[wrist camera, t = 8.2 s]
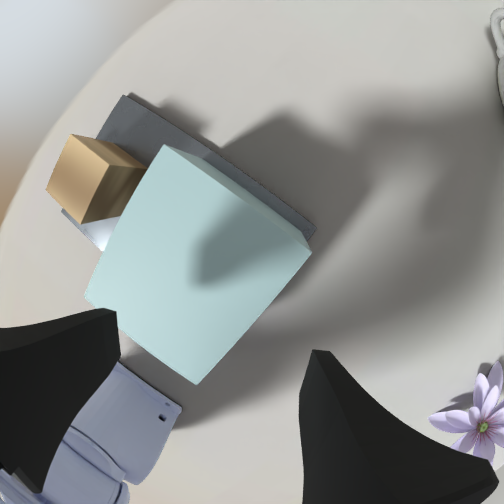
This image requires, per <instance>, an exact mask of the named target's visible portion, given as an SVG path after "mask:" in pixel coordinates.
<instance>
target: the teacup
mask: <svg viewBox="0 0 504 504" xmlns="http://www.w3.org/2000/svg"><path fill="white" fill-rule="evenodd" d="M502 19H504V8H498V9H496V10H494V11H493V13H492V14H491V18H490V26H491V31H492V34H493V37H494V40H495V42H496V45H497V50H496V53H497V56H498V58H499V59H500V61H499V64H498V85H499V92H500V96H501V100H502V103H503V106H504V38H503V35H502V31H501V26H500V22H501V20H502Z"/></svg>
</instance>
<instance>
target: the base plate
mask: <svg viewBox="0 0 504 504" xmlns="http://www.w3.org/2000/svg"><path fill="white" fill-rule="evenodd" d="M96 139H98V140H103V141H107V142H112V143H114V144H115V145H117V146H118V147H119V148H121V149H122V150H124V151H125V152H126V153H128V154H129V155H130V156H132V157H133V158H134V159H136V160H137V161H139V162H140V163H141V164H143V165H144V166H145V167H147V168H149V166H150V165H151V163H152V162H153V160H154V158H155V157H156V155H157V154H158V152H159V151H160V149H161V148H162V146H163V145H164V144H165V145H167V146H170V147H173V148H176V149H178V150H181V151H184V152H186V153H189V154H192V155H194V156H197V157H199V158H202V159H203V160H205V161H206V162H208V163H209V164H211V165H212V166H213V167H215V168H216V169H218V170H219V171H220V172H222V173H223V174H225V175H226V176H228V177H229V178H230V179H232V180H233V181H234V182H236V183H237V184H239V185H240V186H241V187H243V188H244V189H246V190H247V191H248V192H250V193H251V194H252V195H254V196H255V197H256V198H258V199H259V200H260V201H262V202H263V203H265V204H266V205H267V206H269V207H270V208H271V209H273V210H274V211H275V212H276V213H278V214H279V215H280V216H282V217H283V218H284V219H286V220H287V221H288V222H290V223H291V224H292V225H294V226H295V227H296V228H297V229H299V230H300V231H301V232H302V234H303V236H304V238H305V240H306V242H307V240H308V239H309V238H310V236H311V235H312V234H313V233H314V231H315V230H316V229H317V228H316V227H315V226H314V225H313V224H311V223H310V222H309V221H308V220H306V219H305V218H304V217H302V216H301V215H300V214H299V213H297V212H296V211H295V210H293V209H292V208H291V207H290V206H288V205H287V204H286V203H284V202H283V201H282V200H280V199H279V198H278V197H276V196H275V195H274V194H272V193H271V192H270V191H268V190H267V189H266V188H264V187H263V186H262V185H260V184H259V183H257V182H256V181H255V180H253V179H252V178H251V177H249V176H248V175H246V174H245V173H244V172H242V171H241V170H239V169H238V168H237V167H235V166H234V165H232V164H231V163H229V162H228V161H227V160H225V159H224V158H222V157H221V156H219V155H218V154H216V153H215V152H214V151H212V150H211V149H209V148H208V147H206V146H205V145H203V144H202V143H200V142H199V141H197V140H196V139H194V138H193V137H191V136H190V135H188V134H187V133H185V132H184V131H182V130H180V129H179V128H177V127H176V126H174V125H173V124H171V123H170V122H168V121H166V120H165V119H163V118H162V117H160V116H158V115H157V114H155V113H154V112H152V111H150V110H149V109H147V108H145V107H144V106H142V105H140V104H139V103H137V102H135V101H134V100H132V99H130V98H129V97H127V96H125V95H122V97H121V98H120V100H119V101H118V103H117V104H116V106H115V107H114V109H113V111H112V112H111V114H110V115H109V117H108V119H107V120H106V122H105V124H104V125H103V127H102V129H101V130H100V132H99V134H98V136H97V137H96ZM126 206H127V205H126ZM125 208H126V207H125ZM61 212H62V213H63V214H64V215H65V216H66V217H67V218H68V219H69V220H70V221H71V222H72V223H73V224H74V225H75V226H76V227H77V228H78V229H79V230H80V231H81V232H82V233H83V234H84V235H85V236H86V237H87V238H89V239H90V240H91V241H92V242H93V243H94V244H95V245H96V246H97V247H98V248H99V249H100V250H102V251H104V249H105V247H106V245H107V243H108V241H109V239H110V237H111V235H112V233H113V231H114V229H115V227H116V225H117V223H118V221H119V219H120V217H121V216H118V217H113V218H109V219H104V220H99V221H95V222H90V223H86V224H81V225H80V224H79V223H78V222H77V221H76V220H75V219H74V218H73V217H72V216H71V215H70V214H69V213H68V212H67V211H66V210H65V209H64V208H63V209H62V211H61Z"/></svg>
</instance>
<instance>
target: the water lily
mask: <svg viewBox="0 0 504 504" xmlns="http://www.w3.org/2000/svg"><path fill="white" fill-rule="evenodd" d="M502 385H503V369H502V366H501V364H500V362H499V361H497V362H496V363H495V364H494V365H493V367H492V369H491V370H490V373H489V375H488V378H487V379H486V377H485V376H484V375H483V374H482V373H479V374H478V376H477V378H476V382H475V386H474V393H473V404H474V407H471V408H469V411H468V412H465V411H462V410H451V411H448V412H438V413H434V414H432V415H431V416H429V417H428V421H429V422H430V423H431V424H432V425H433V426H434V427H435V428H437V429H439V430H442V431H445V432H450V433H464V432H468V433H467V434H465V435H464V436H462V437H461V438H460V439H458V440H457V441H456V442H455V443H454V444H453V445H452V446H451V447H450V448H452V449H454V450H457V451H460V452H463V453H466V452H468V451H469V450H471V448H472V447H473V446H474V444H475V447H474V451H473V456H477V457H480V458H484V459H488V461H489V462H490V464H491V466H492V465H493V458H494V455H495V446H494V443H495V444H497V445H498V446H500V447H503V448H504V399H503V400H502V401H501V402H500V403H499V404H498V405H497V406H496V404H497V402H498V400H499V397H500V394H501V390H502ZM495 406H496V408H495ZM494 408H495V409H494ZM478 433H479V434H478ZM477 436H478V438H477ZM476 439H477V440H476ZM475 441H476V443H475Z"/></svg>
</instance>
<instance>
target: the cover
mask: <svg viewBox="0 0 504 504" xmlns="http://www.w3.org/2000/svg"><path fill="white" fill-rule="evenodd" d="M311 254H312V251H311V249H310V248H309V246H308V244H307V242H306V240H305V238H304V236H303V234H302V232H301V231H300V230H299V229H297V228H296V227H295V226H294V225H292V224H291V223H290V222H288V221H287V220H286V219H284V218H283V217H282V216H280V215H279V214H278V213H276V212H275V211H274V210H273V209H271V208H270V207H269V206H267V205H266V204H265V203H263V202H262V201H260V200H259V199H258V198H256V197H255V196H254V195H252V194H251V193H250V192H248V191H247V190H246V189H244V188H243V187H241V186H240V185H239V184H237V183H236V182H234V181H233V180H232V179H230V178H229V177H228V176H226V175H225V174H223V173H222V172H220V171H219V170H218V169H216V168H215V167H213V166H212V165H211V164H209V163H208V162H206V161H205V160H203V159H202V158H199V157H197V156H194V155H192V154H189V153H186V152H184V151H181V150H178V149H176V148H173V147H170V146H167V145H165V144H164V145H163V146H162V148H161V149H160V151H159V152H158V154H157V155H156V157H155V158H154V160H153V162H152V163H151V165H150V166H149V168H148V170H147V171H146V173H145V175H144V176H143V178H142V180H141V181H140V183H139V185H138V186H137V188H136V190H135V191H134V193H133V195H132V197H131V199H130V200H129V202H128V204H127V206H126V208H125V209H124V211H123V213H122V215H121V217H120V219H119V221H118V223H117V225H116V227H115V229H114V231H113V233H112V235H111V237H110V239H109V241H108V243H107V245H106V247H105V249H104V251H103V253H102V255H101V258H100V260H99V262H98V264H97V267H96V269H95V271H94V273H93V276H92V278H91V280H90V283H89V285H88V288H87V290H86V293H85V295H84V298H85V299H86V300H88V301H89V302H90V303H91V304H92V305H93V306H94V307H95V308H96V309H98V308H107V309H110V310H113V311H117V323H118V328H119V329H120V330H121V331H123V332H124V333H125V334H126V335H128V336H129V337H130V338H131V339H133V340H134V341H135V342H136V343H138V344H139V345H140V346H141V347H143V348H144V349H145V350H147V351H148V352H149V353H151V354H152V355H153V356H155V357H156V358H157V359H159V360H160V361H161V362H163V363H164V364H166V365H167V366H168V367H170V368H171V369H173V370H174V371H176V372H177V373H179V374H180V375H182V376H183V377H184V378H186V379H187V380H189V381H191V382H192V383H194V384H195V385H198V383H199V382H200V381H201V380H202V379H203V378H204V377H205V376H206V375H207V374H208V373H209V372H210V371H211V370H212V369H213V367H214V366H215V365H216V364H217V363H218V362H219V361H220V360H221V359H222V358H223V357H224V355H225V354H226V353H227V352H228V351H229V350H230V349H231V348H232V347H233V346H234V344H235V343H236V342H237V341H238V340H239V339H240V338H241V337H242V335H243V334H244V333H245V332H246V331H247V330H248V329H249V328H250V326H251V325H252V324H253V323H254V322H255V321H256V319H257V318H258V317H259V316H260V315H261V314H262V313H263V311H264V310H265V309H266V308H267V307H268V306H269V304H270V303H271V302H272V301H273V300H274V299H275V297H276V296H277V295H278V294H279V293H280V291H281V290H282V289H283V288H284V287H285V285H286V284H287V283H288V282H289V281H290V279H291V278H292V277H293V276H294V275H295V273H296V272H297V271H298V270H299V269H300V267H301V266H302V265H303V264H304V262H305V261H306V260H307V259H308V257H309V256H310V255H311Z"/></svg>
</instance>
